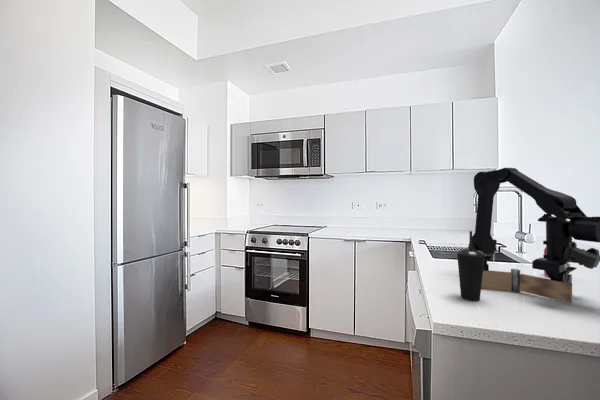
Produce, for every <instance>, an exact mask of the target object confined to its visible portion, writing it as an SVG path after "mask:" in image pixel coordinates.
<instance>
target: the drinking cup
mask: <svg viewBox="0 0 600 400" xmlns="http://www.w3.org/2000/svg"><path fill="white" fill-rule="evenodd" d="M472 236H473V230H469V241H468V242H469V243H468V246H469V248H468V247H467V248H461V249H459V250H456V252H455V254H456V255H457V256H456V257H457V258H456V259H457V266H458V267H457V268H458V277H459V290H460V297H461V298H462V299H463V300H465V301H470V302H479V301H480V300H481V294H482V293H481V291H482V289H481V285H482V276H483V268H484V259H485V256H486V254H485V253H483V252H481V251H479V250H477V249H472Z"/></svg>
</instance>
